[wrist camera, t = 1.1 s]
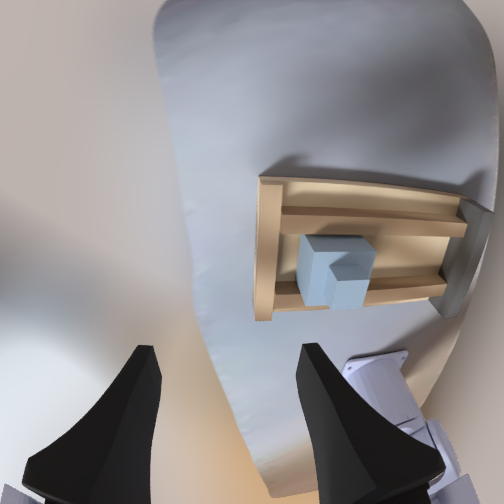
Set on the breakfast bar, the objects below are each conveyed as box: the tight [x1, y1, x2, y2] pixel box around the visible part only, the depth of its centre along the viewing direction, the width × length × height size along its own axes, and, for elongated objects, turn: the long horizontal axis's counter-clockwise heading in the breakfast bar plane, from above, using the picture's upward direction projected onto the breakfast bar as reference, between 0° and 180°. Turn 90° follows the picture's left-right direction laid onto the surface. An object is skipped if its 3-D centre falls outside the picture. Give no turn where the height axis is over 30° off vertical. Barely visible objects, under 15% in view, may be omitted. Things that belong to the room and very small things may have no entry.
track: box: [253, 176, 494, 321], centre depth 19 cm, size 10×18×4 cm, turn 88°
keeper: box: [295, 234, 377, 310], centre depth 17 cm, size 4×4×5 cm
